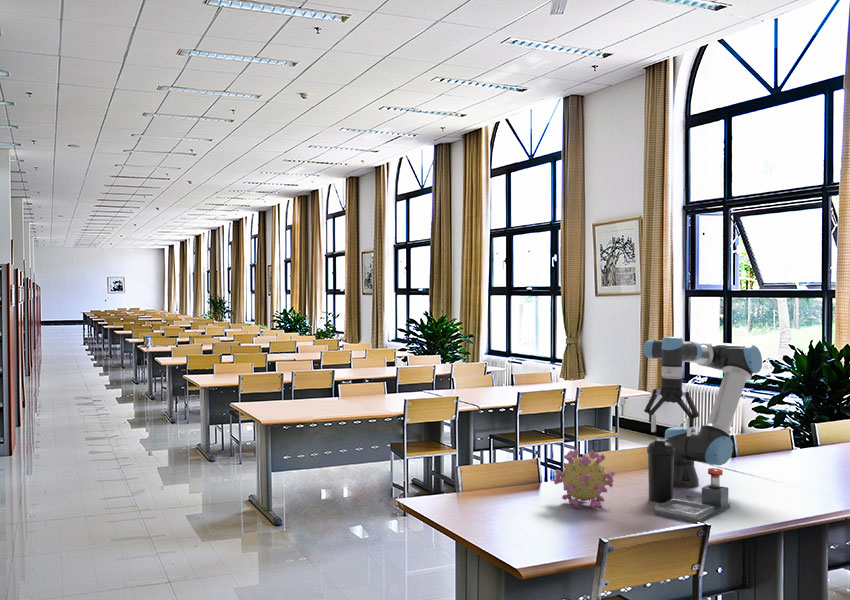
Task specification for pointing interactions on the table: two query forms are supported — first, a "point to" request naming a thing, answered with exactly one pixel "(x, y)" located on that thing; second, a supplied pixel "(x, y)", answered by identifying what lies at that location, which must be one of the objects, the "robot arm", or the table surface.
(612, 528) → the table surface
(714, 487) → the pin
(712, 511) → the press
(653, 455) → the water bottle
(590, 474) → the educational model
